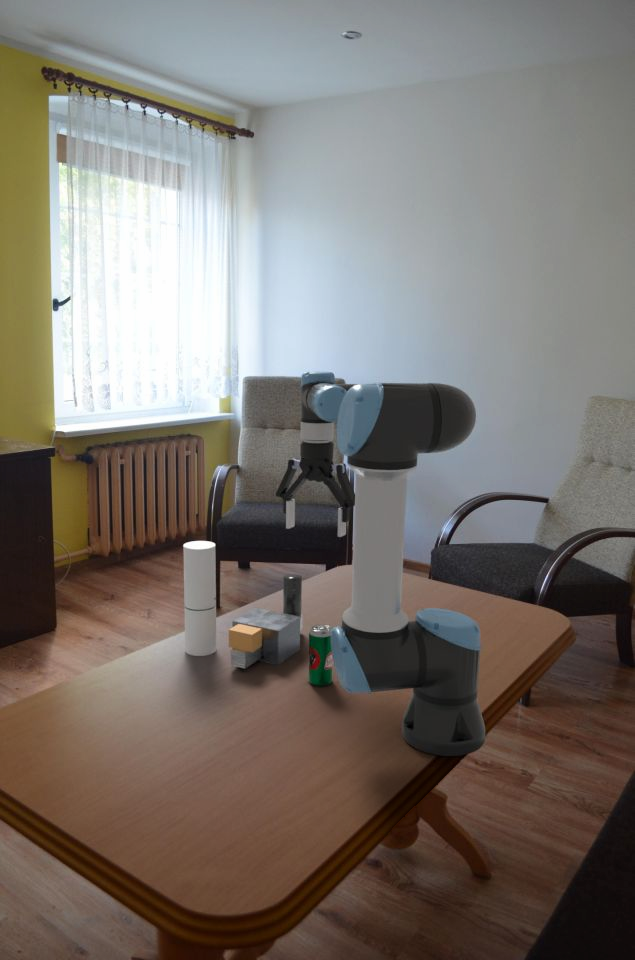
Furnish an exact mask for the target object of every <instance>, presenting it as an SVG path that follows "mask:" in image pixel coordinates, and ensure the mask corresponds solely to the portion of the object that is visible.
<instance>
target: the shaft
mask: <svg viewBox="0 0 635 960" xmlns="http://www.w3.org/2000/svg"><path fill="white" fill-rule="evenodd" d="M282 581H283V583H282V585H283V587H282V590H283V593H282V594H283V595H282V598H283V599H282V600H283V601H282V609H283V610H282V613H284V614H289V615H294V616H299V617H300V632H301V631H302V630H303V625H304V624H303V621H304V615H303V614H302V595H303V594H302V593H303V592H302V590H303V589H302V585H303V584H302V583H303V578H302V575H300V574H293V573H292V574H291V573H289V574H285V575H283V579H282ZM263 656H264V641H263V640H262V646H261V647H260V648H258V649H257V650H255V651H254V652H248V651H244V650H240V649H235V648H231V649H230V666H233V667H237V668H241V669H246V668H248V667H250V666H252V664H254V663H256V662H257V661H259V660H258V659H260V658H261V657H263Z"/></svg>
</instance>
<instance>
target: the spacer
mask: <svg viewBox="0 0 635 960" xmlns="http://www.w3.org/2000/svg"><path fill="white" fill-rule="evenodd" d="M261 646H262V629H261V628H256V627H251V626H247V625H242V624H238V625H236V626H234V627H232V626H231V628H230V629H228V647H229V648H231V649H233V648H235V649H240V650H244V651H248V652H254V651H255V650H257V649H258V648H260V647H261Z"/></svg>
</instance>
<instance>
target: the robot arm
mask: <svg viewBox="0 0 635 960" xmlns="http://www.w3.org/2000/svg"><path fill="white" fill-rule="evenodd" d="M335 378H336V377H335V374H334V373H333V372H332V371H323V370H322V371H320V370H319V371H318V370H313V371H309V370H308V371H305V372H303V373H302V374H301V380H300V381H301V383H300V385H299V387H300V388H299V389H300V440H301V441H300V442H299V443H300V446H299V447H300V449H299V450H300V451H299V452H300V453H299V456H300V459H298V458H297V457H294V458H291V459H289V460H288V462H287V468H286V471H285V472H284V475H283V477H282V479H281V481H280V483H279V486H278V488H277V490H276V491H275V496H276V497H277V498H278V497H279V498H281V499H282V501H283V504H282V506H283V508H282V511H283V514H285V529H286V530H287V529H288V530H289V529H292V528H294V527H295V524H296V521H295V520H296V512H295V511H296V499H294V496H295V494H296V493H297V492H299V490H300V489H301V487H303V485H304V484H305V483H306V482H307V481H309V482H313V481H315V482H318V483H321V482H323V484H324V485H325V486H326V487H327V488H328V489H329V491H330V492H331V494H332V495H333V496H334V498H335V500H336V501H337V502H338V505H339V506H340V507H339V508H337V537H339V538H342V537H344V536H346V535H347V522H350V519H351V517H350V514H351V513H350V512H351V508H353V507H354V521H353V548H352V549H353V550H352V552H353V553H352V574H351V576H352V579H351V599H350V600H351V601H350V603H351V605H350V606H349V607H348V608H347V609H346V610H345V611H344V612H343V613H342V616H341V618H342V619H341V626H340V625H336V626H335V627H333V628H332V631H331V632H332V633H331V649H332V655H333V665H334V667H335V668H334V669H335V672H336V675H337V678H338V680H339V683H340V685H341V687H342V688H343V689H344V690H345V691H347V692H348V693H350V694H362V693H363V694H368V695H369V694H372V693H379V692H389V691H399V690H409V689H410V690H411V689H412V694H411V697H410V699H409V702H408V704H407V707H406V709H405V712H404V714H403V717H402V721H401V735H402V737H403V740H404V741H405V742H407V744H408V745H410V746H411V747H412V748H415V749H416V750H419V751H421V752H424V753H426V754H431V755H435V756H443V757H460V756H465V755H469V754H473V753H474V752H476V751H478V750H480V749H481V748H482V747H483V746H484V744H485V740H486V726H485V722H484V718H483V715H482V712H481V711H482V710H481V708H480V704H479V701H478V693H479V692H478V690H479V676H480V675H479V673H480V661H481V660H480V658H481V649H482V643H481V629H480V626H479V624H478V622H476V621H475V620H474V619H473V618H471V617H470V616H468V615H465V614H463V613H460V612H457V611H454V610H451V609H446V608H439V607H437V608H436V607H427V608H422V609H419V610H418V611H417V612H415V613H416V614H415V616H414V621H412V620H411V621H410V619H409V616H408V614H407V613H406V612H404V611H403V609H402V608H401V606H402V591H403V590H402V588H403V587H402V586H403V569H404V548H405V532H406V531H405V530H406V528H405V527H406V525H405V523H406V509H407V508H406V506H407V505H406V504H407V486H408V476H409V474H411V473H412V472H413V471H414V470H416V469H417V467H418V455H419V454H439V453H442V452H446V451H449V450H452V449H455V448H456V447H457V446H460V445H461V444H463V443H464V441H466V440H467V439H468V438H469V437H470V435H471V434H472V432H473V430H474V428H475V424H476V422H477V421H476V419H477V413H476V412H477V411H476V408H475V404H474V402H473V399H472V398H471V397H470V396H469V395H468V394H467V393H466V392H465V391H463V390H462V389H461V388H458V387H456V386H453V385H450V384H446V383H440V382H439V383H438V382H426V383H424V382H423V383H422V382H421V383H419V382H418V383H417V382H416V383H414V382H413V383H412V382H410V383H409V382H407V383H406V382H403V383H402V382H400V383H399V382H370V383H336V379H335ZM336 422H337V423H336ZM335 423H336V436H337V437H336V438H337V439H336V444H337V449H338V451H339V452H340V454H341V455H343V456H346V463H347V465H348V467H349V468H350V469H351V470H352V472H354V474H355V488H353V487H352V484H351V481H350V478H349V476H348V474H347V465H346V463H339V464H337V463H336V464H334V460H333V459H334V449H335V448H334V442H333V441H332V440H333V439H334V437H335V436H334V431H335V430H334V429H335ZM299 468H300V471H301V473H300V474H299V475H298V476H297V478H296V480H295V481H294V482H293V483H292V481H293V479H294V476H295V474H296V472H297V470H298V469H299ZM333 471H334V473H335V474H336V476H337V479H338V482H339V483H338V482H337V481H336V477H335V476H334V474H333ZM291 483H292V484H291ZM339 484H340V485H339ZM290 485H291V486H290ZM354 489H355V491H354Z"/></svg>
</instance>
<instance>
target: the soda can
mask: <svg viewBox="0 0 635 960" xmlns="http://www.w3.org/2000/svg"><path fill="white" fill-rule="evenodd" d="M332 629H333V628H332V627H331V626H330V625H327V624H315V625H311V627H310V631H309V632H308V678H307V679H308V682H309V683H310V684H311V685H313V686H316V687H325V686H329V685H330V684H331V683H332V682H333V669H334V667H333V665H334V661H333V655H332V649H331V633H332V632H331V631H332Z"/></svg>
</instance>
